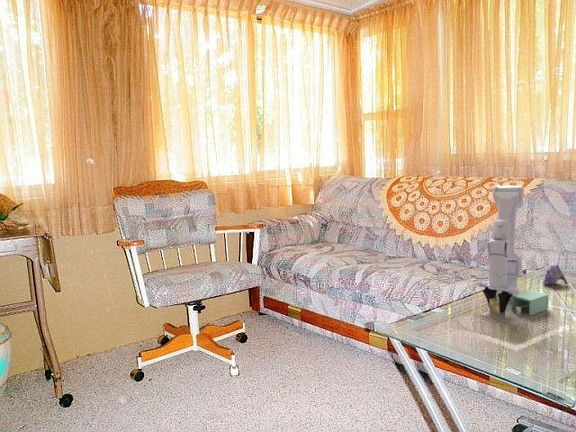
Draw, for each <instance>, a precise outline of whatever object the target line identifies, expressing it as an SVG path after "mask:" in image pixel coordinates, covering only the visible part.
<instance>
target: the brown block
mask: <svg viewBox="0 0 576 432" xmlns="http://www.w3.org/2000/svg"><path fill="white" fill-rule="evenodd" d="M489 311H490V312H493V313H496V314H501V312H500V302H499V297H498V296H496V297H494V298H491V299H490V309H489Z"/></svg>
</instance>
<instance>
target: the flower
mask: <svg viewBox="0 0 576 432" xmlns="http://www.w3.org/2000/svg"><path fill="white" fill-rule="evenodd" d="M559 280H562V281H563V282H564V284H568V285H569V283H568V281H567V278H566V277H565V274H564V273H563V272H562V269H561V268H560V266H559V265H558V264H553V265H551V266H550V268H549V269H547V271H546V273H545V276H544V279H543V285H545V286H553V285H554V284H556V283H557V282H558V281H559Z"/></svg>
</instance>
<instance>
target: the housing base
mask: <svg viewBox="0 0 576 432" xmlns="http://www.w3.org/2000/svg"><path fill="white" fill-rule="evenodd" d="M551 312H552V310H551V309H547V310H544V311H542V312H539V313H536V314H534V315H531V316H530V315H529V305H526V306H524V307H519V306H517V307H516V309H515V310H511V303H508V304H507V307H506V310H505V312H503V313H501V314H496V313H493V312H490V310H489V311H486V312H483V313H481V314H480V315H481V316H484V317H488V318H491V319H494V320H497V321H500V322H503V323H506V324H510V325H512V326H517V325H520V324H522V323H525V322H527V321H530V320H533V319H535V318H538V317H541V316H543V315H546V314H548V313H551Z"/></svg>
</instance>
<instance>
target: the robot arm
mask: <svg viewBox="0 0 576 432" xmlns="http://www.w3.org/2000/svg"><path fill="white" fill-rule="evenodd" d="M524 190H525V189H524V186H522V185H495V186H494V187H493V191H492V192H493V193H492V197H493V198H492V199H493V202H494V204H495V205H496V207H497V208H498V209H497V220H496V221H494V222H493V224H492V230H491V231H492V232H491V236H490V239H489V240H488V242H487V255H488V257H487V259H488V266H489V269H488V281H487V280H483V279H481V280H478V281H477V287H483V288H484V289H483V290H482V293H483V294H484V296H485V298H486V301H487V304H488V308H489V310H490V299H491V298H494V297H499V302H500V312H501V313H503V312H505V310H506V307H507V305H509V302H510V300H512V295H513V296H517V295H519V293H520V292H519V291H520V290H519V289H518V278H519V277H520V276H522V273H523V260H522V259H523V258H522V256H521V255H520V254H519V253H518V252H516V251H515V238H516V237H515V235H516V220H517V219H516V216H517V211H518V209H520V208H522V207H523V205H524V197H525V196H524V193H525V192H524Z"/></svg>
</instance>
